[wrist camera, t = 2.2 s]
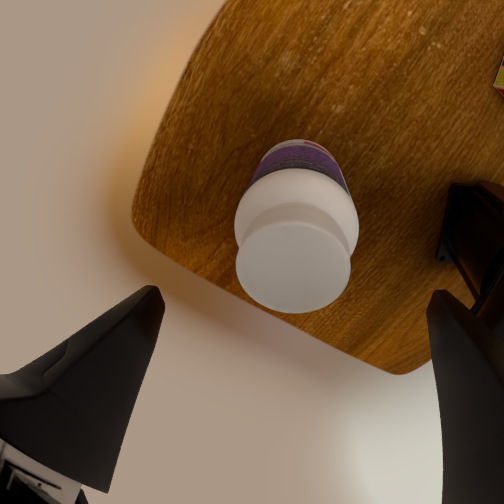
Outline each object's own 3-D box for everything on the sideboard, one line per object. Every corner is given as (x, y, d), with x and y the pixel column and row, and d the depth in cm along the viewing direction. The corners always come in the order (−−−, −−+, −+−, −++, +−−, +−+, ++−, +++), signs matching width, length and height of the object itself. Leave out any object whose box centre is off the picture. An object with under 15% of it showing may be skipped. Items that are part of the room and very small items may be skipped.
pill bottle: (242, 160, 17) (185, 239, 9) (318, 124, 15) (338, 170, 7) (281, 227, 20) (261, 338, 12) (353, 199, 17) (387, 303, 9)
